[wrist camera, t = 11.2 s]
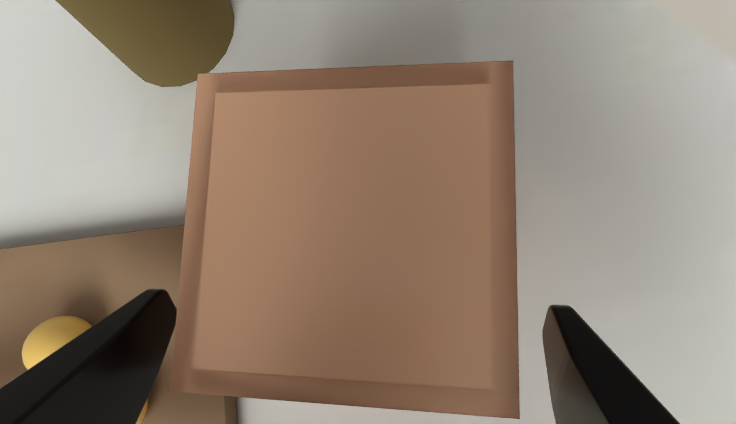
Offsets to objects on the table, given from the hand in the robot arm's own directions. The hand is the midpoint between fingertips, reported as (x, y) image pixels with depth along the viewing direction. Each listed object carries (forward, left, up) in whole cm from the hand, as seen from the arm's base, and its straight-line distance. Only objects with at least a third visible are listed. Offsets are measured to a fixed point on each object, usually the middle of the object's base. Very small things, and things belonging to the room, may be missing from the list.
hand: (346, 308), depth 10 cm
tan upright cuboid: (+2, 0, -8) cm, 8 cm away
